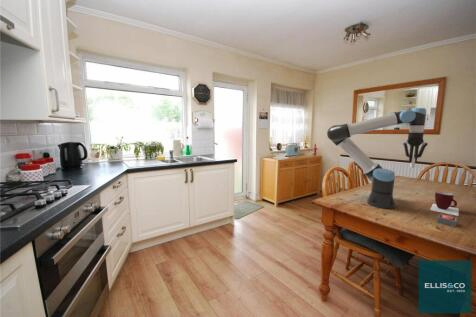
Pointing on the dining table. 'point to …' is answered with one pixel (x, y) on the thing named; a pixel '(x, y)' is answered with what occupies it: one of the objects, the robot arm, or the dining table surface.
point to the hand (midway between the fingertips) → (412, 167)
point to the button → (447, 217)
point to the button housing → (447, 221)
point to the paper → (448, 211)
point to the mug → (444, 200)
